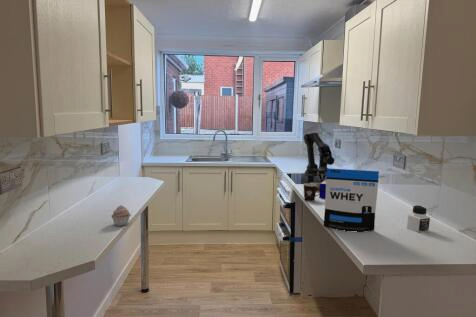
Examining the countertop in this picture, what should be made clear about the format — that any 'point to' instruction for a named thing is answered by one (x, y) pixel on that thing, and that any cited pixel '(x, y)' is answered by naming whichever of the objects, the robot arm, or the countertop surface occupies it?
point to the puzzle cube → (323, 186)
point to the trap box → (317, 186)
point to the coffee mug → (310, 191)
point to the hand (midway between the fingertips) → (322, 183)
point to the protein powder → (351, 199)
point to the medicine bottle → (418, 219)
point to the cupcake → (121, 216)
